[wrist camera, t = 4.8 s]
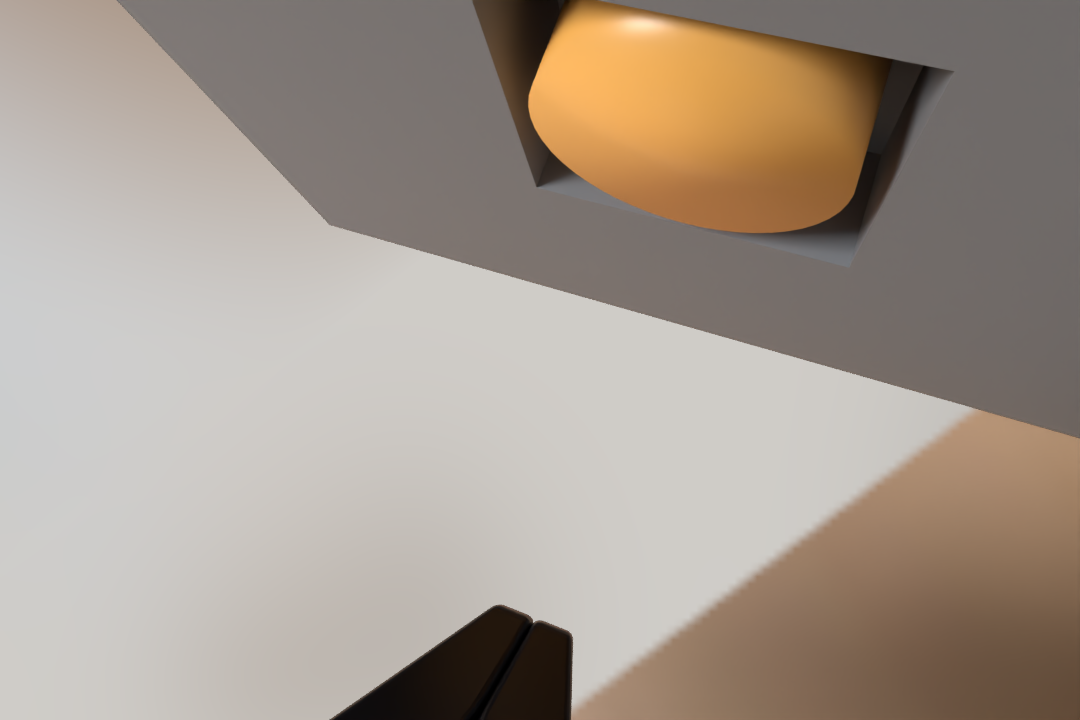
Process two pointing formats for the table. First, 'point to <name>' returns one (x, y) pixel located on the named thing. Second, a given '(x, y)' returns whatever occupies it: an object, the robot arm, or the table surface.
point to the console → (682, 249)
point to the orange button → (706, 116)
